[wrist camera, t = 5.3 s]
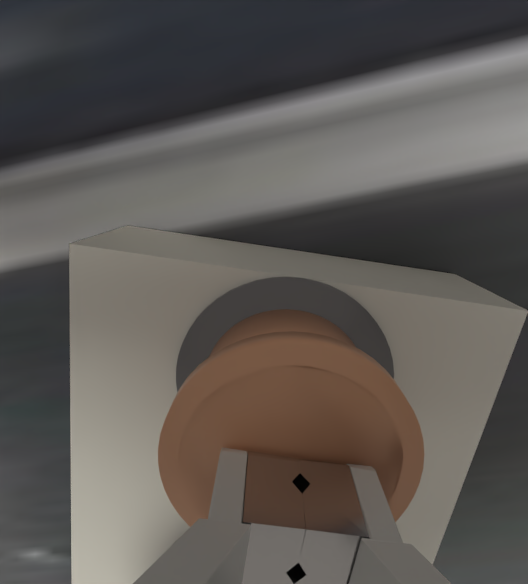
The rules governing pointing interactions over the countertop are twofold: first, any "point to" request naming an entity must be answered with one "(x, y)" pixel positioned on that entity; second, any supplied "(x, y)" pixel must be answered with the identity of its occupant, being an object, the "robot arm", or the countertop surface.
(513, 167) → the countertop surface
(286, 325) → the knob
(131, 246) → the white socket holder
